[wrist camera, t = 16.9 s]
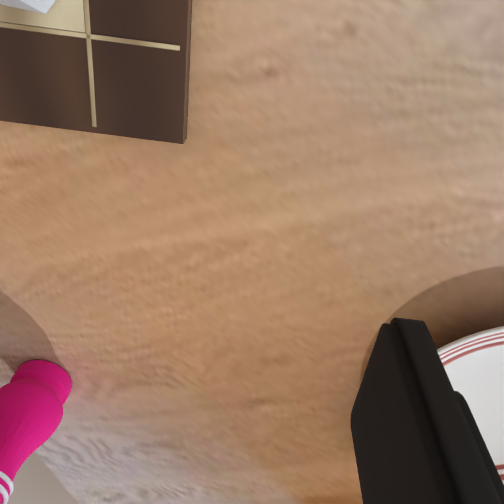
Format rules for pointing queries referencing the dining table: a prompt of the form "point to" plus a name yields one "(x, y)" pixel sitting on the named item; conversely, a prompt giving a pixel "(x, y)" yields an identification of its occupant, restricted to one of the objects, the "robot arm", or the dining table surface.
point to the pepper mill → (29, 415)
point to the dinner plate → (481, 384)
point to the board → (98, 67)
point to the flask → (30, 4)
